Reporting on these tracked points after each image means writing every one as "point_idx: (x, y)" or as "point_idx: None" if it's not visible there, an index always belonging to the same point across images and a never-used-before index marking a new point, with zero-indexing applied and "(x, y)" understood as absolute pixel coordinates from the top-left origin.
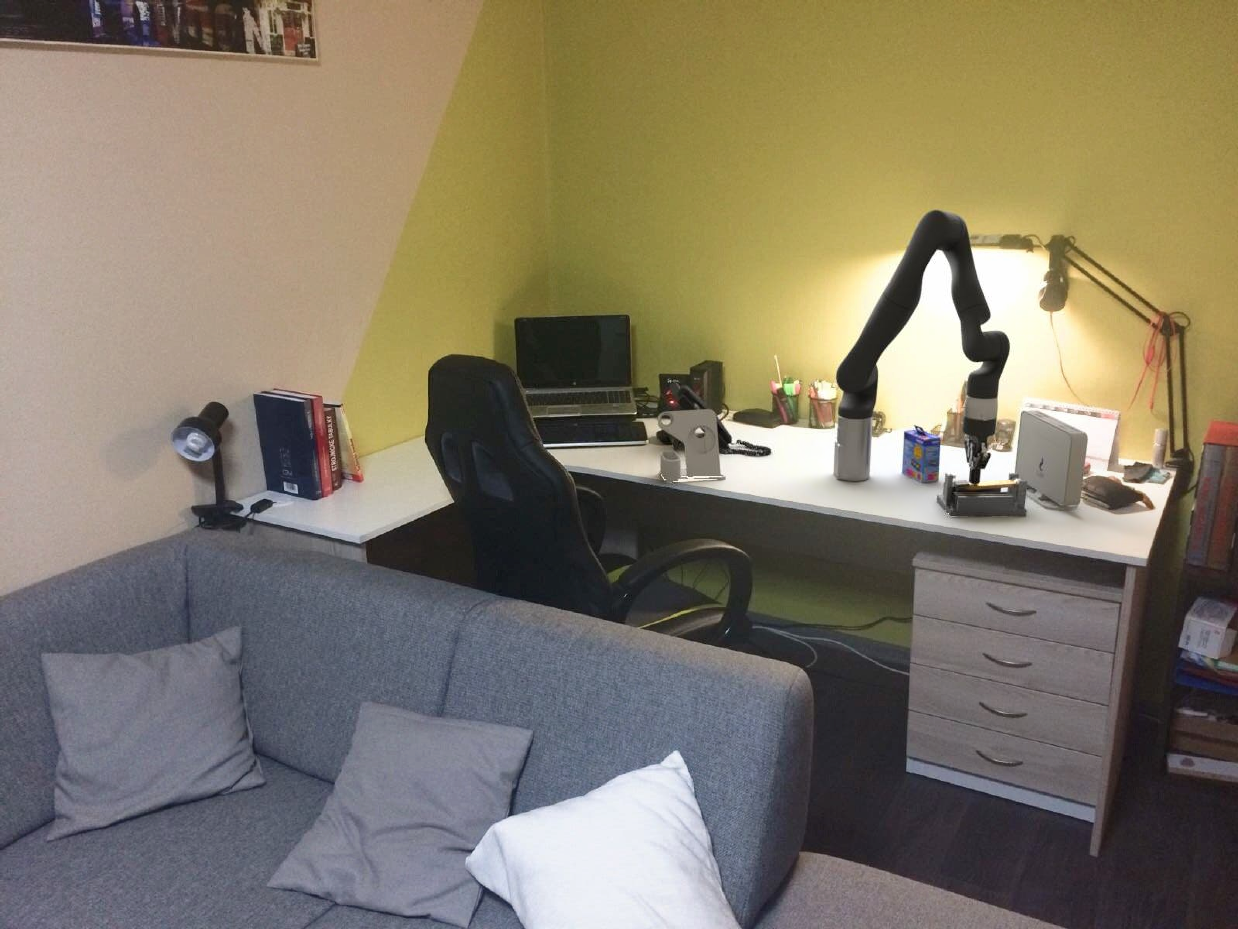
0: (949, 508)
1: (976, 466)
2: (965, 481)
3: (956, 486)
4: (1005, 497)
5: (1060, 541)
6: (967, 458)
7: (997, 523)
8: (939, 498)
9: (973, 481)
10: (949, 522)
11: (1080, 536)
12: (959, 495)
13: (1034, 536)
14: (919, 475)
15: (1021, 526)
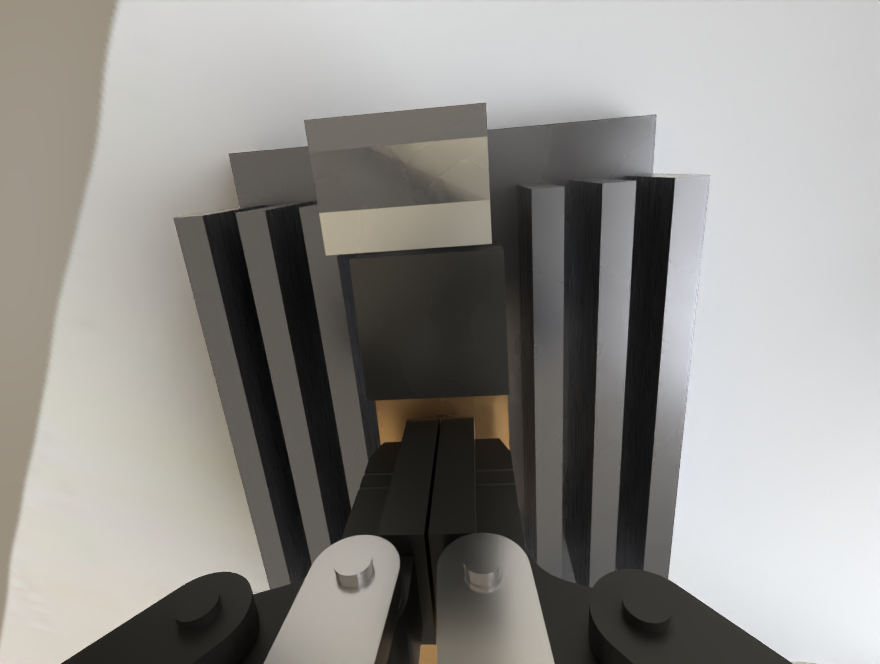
0: (283, 153)
1: (101, 649)
2: (456, 377)
3: (387, 253)
4: (270, 582)
5: (17, 610)
6: (682, 650)
7: (194, 423)
8: (564, 123)
9: (379, 451)
10: (137, 122)
11: None
12: (243, 244)
13: (44, 534)
14: None
15: (176, 521)
